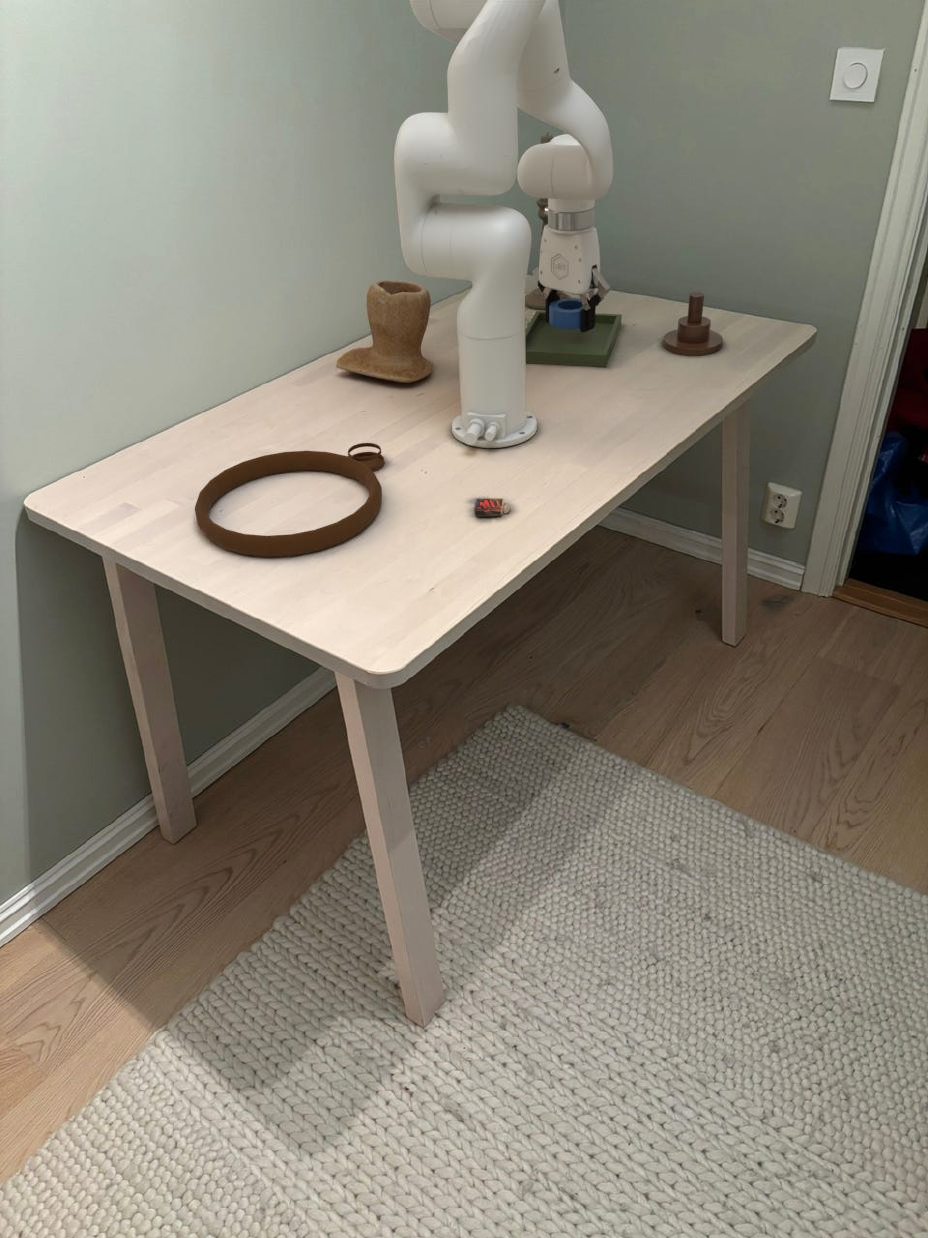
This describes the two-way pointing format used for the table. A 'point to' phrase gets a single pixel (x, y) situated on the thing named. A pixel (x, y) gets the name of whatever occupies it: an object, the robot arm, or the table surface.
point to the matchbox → (490, 506)
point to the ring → (565, 313)
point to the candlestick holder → (535, 296)
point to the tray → (571, 342)
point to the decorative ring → (348, 466)
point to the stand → (693, 332)
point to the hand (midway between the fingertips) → (569, 324)
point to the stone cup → (393, 333)
